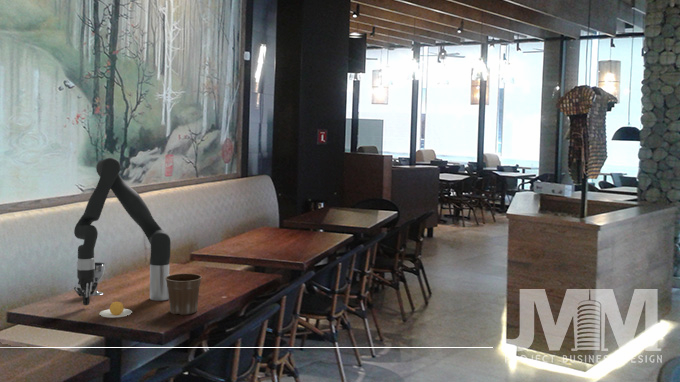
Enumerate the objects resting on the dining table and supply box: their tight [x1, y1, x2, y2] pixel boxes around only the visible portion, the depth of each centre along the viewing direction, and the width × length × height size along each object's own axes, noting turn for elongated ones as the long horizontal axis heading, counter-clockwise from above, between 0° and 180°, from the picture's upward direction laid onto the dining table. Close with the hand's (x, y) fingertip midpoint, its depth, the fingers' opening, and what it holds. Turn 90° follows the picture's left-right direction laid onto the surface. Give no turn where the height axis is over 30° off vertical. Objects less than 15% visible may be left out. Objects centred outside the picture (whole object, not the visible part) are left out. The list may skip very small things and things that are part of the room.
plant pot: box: [165, 273, 203, 316], centre depth 320 cm, size 16×16×16 cm
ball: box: [109, 301, 125, 315], centre depth 312 cm, size 6×6×6 cm
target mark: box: [99, 308, 133, 318], centre depth 315 cm, size 14×14×1 cm
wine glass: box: [90, 261, 106, 297], centre depth 347 cm, size 8×8×15 cm
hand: (86, 304), depth 322 cm, fingers closed
